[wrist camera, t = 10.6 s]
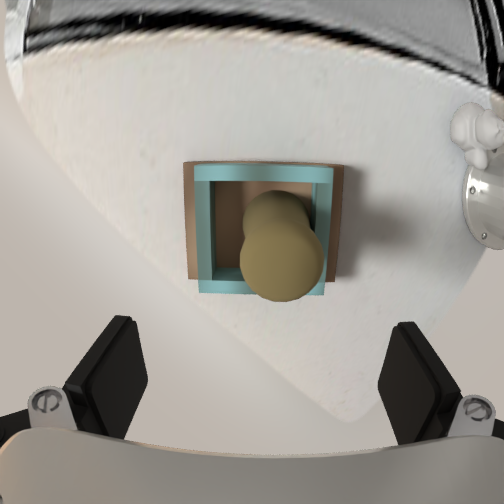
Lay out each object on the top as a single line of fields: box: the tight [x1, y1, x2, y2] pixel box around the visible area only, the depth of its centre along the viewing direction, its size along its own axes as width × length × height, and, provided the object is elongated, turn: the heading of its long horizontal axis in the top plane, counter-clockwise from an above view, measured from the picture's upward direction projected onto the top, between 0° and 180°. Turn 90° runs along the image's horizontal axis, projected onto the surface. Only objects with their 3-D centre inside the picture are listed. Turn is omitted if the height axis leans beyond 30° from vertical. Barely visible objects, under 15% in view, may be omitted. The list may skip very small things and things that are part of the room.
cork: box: [240, 190, 324, 302], centre depth 23 cm, size 6×6×11 cm
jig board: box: [183, 161, 344, 295], centre depth 28 cm, size 14×11×4 cm
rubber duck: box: [450, 102, 504, 170], centre depth 22 cm, size 5×7×8 cm
